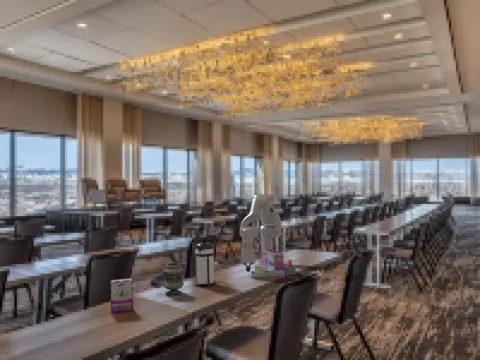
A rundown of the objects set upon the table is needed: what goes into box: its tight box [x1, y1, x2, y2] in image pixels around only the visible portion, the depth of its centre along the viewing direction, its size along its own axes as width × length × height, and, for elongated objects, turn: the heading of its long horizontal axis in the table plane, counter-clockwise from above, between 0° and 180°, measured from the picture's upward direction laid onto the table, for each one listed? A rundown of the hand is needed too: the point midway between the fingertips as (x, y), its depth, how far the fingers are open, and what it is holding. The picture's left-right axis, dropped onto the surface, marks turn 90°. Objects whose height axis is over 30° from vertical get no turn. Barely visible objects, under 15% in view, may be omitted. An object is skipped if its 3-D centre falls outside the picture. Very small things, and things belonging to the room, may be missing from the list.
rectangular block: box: [250, 268, 286, 278], centre depth 282 cm, size 10×23×3 cm, turn 92°
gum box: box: [260, 249, 284, 271], centre depth 303 cm, size 24×8×14 cm, turn 24°
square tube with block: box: [283, 264, 297, 276], centre depth 288 cm, size 12×7×6 cm, turn 2°
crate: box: [254, 264, 266, 274], centre depth 282 cm, size 7×6×7 cm
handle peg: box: [286, 259, 293, 266], centre depth 286 cm, size 3×3×10 cm
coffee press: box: [193, 238, 217, 288], centre depth 262 cm, size 17×16×30 cm
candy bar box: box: [110, 277, 134, 314], centre depth 208 cm, size 11×5×16 cm, turn 105°
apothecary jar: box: [162, 262, 185, 297], centre depth 240 cm, size 12×12×18 cm
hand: (248, 271), depth 282 cm, fingers closed
